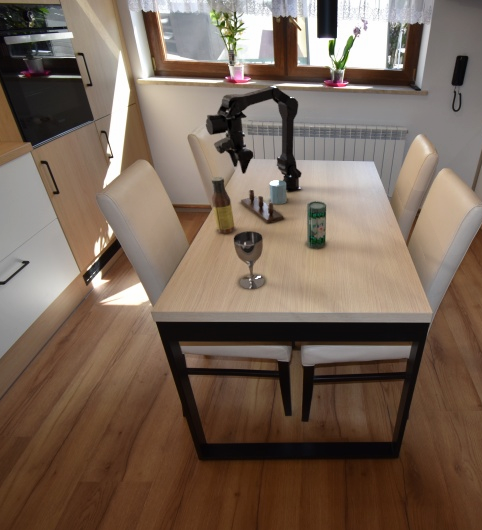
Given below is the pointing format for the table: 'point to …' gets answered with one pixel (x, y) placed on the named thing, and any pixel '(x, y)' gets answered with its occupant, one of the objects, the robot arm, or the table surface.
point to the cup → (278, 192)
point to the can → (316, 224)
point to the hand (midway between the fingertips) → (239, 170)
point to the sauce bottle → (222, 206)
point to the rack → (261, 208)
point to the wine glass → (249, 255)
